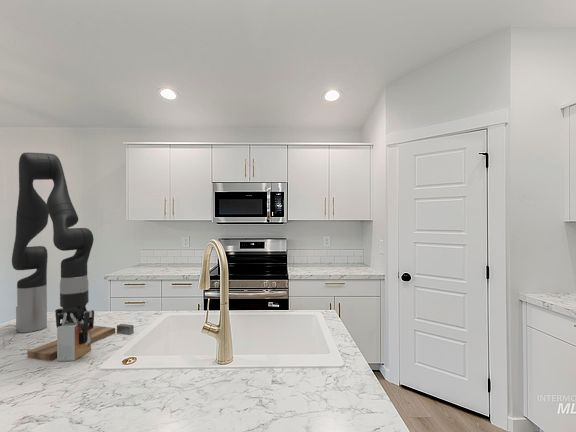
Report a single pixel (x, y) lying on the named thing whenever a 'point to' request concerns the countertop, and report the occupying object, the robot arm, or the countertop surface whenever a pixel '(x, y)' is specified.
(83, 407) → the countertop surface
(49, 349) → the plank
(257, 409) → the countertop surface
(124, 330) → the block
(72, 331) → the small box
